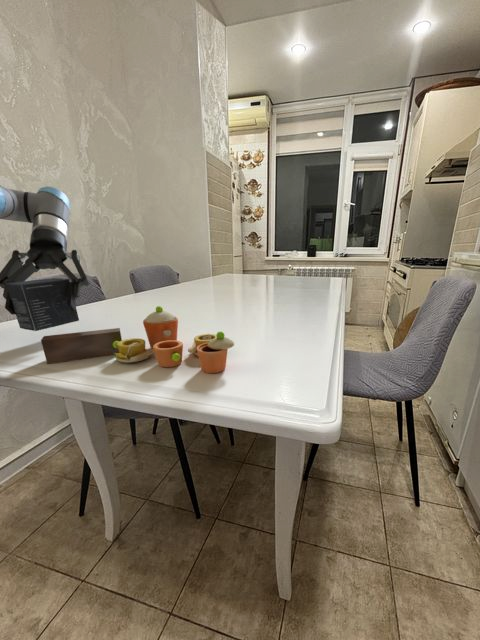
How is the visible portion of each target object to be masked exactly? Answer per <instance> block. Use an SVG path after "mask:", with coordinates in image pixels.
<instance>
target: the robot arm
mask: <svg viewBox="0 0 480 640" xmlns="http://www.w3.org/2000/svg"><path fill="white" fill-rule="evenodd" d="M70 205H71V203H70V200H69V198H68V196H67V195H66V194H65V193H64V192H63V191H61V190H60V189H58V188H57V187H53V186H43V187H40V188H38V190H37V192H30V191H22V190H18V189H14V188H13V189H12V188H7V187H5V186H2V185H0V220H4V221H12V222H22V223H29V224H32V226H31V233H30V239H29V249H28V250H27V252H20V251H19V250H17V249H15V250H13V251H12V254H11V257H10V259H9V260H8V261H7V263H6V265H4V266H3V268H2V269H1V271H0V288H1V289H3V292H2V297H3V298H4V300H5V304H4V309H5V310H6V311H7V312H8V313H9V314H11V315H16V314H15V310H14V307H13V304H12V301H11V298H10V295H9V292H8V289H7V286H6V283H14V282H23V281H27V280H28V279H29V278H30V277H31V276H32V275H33V274H35V273H38V272H39V271H41V270H48V269H51V270H56V269H57V268H58V270H60V272H61V273H63V274H64V276H66V278H67V279H69V281H70V282H69V286H68V299H67V305H68V307H69V308H70V310H71V311H75V305H76V304H77V303H76V302H77V301H76V300H77V299H78V298H80V297H81V293H82V292H81V291H82V287H83V286H86V287H87V286H90V281H89V279H88V277H87V275H86V273H85V270H84V268H83V266H82V265H81V257H80V255H79V253H78V251H77V249H72V250H71V252H67V251H68V237H69V225H70V216H71V210H70V209H71V207H70ZM68 259H69V261H71V262H72V263H73V264H74V267H75V268H76V271H77V273H78V276H79V278H78V276H76V275H75V274H74V273H73V272H72V270H70V268H68V267H67V266H66V264H65V262H66V261H67V260H68Z"/></svg>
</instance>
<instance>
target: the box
mask: <svg viewBox="0 0 480 640" xmlns="http://www.w3.org/2000/svg"><path fill="white" fill-rule="evenodd" d="M69 282H71V281H70V280H69V279H68V278H60V277H59V278H58V277H57V278H56V277H52V278H44V279H43V278H42V279H33V280H25V281H23V282H14V283H6V286H7V289H8V292H9V295H10V298H11V301H12V304H13V307H14V310H15V314H14V315H15V317H16V319H17V323H18V327H19V328H20V329H22V330H29V331H33V332H38V331H43V330H46V329H50V328H56V327H60V326H64V325H67V324H72V323H75V322H79V321H80V318H79V313H78V310H77V306H76V305H75V311H71V310H70V308H69V307H68V305H67V299H68V286H69Z"/></svg>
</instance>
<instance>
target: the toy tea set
mask: <svg viewBox="0 0 480 640" xmlns="http://www.w3.org/2000/svg"><path fill="white" fill-rule="evenodd" d="M142 323H143V327H144V331H145V333H146V337H147V341H148V344H149V346H150V348H148V349H146V340H145V339H142V338H128V339H126V338H125V339H122V341H120V342H119V341H115V342H113V347H114V348H118V349H119V352H120V353H119V354H118V353H114V355H115V360H116V361H118V362H120V363H126V364H127V363H136V362H141V361H144V360H146V359H148V358H149V357H150V356H151V355H153V354H154V356H155V358H156V361H157V364H158V366H160V367H161V368H173V367H177V366H179V365H180V364H182V361H183V351H184V343H183V341H181V340H178V330H179V329H178V327H179V318H178V317H177V316H175V315H173V314H172V313H170V312H169V311H166V310H164V308H163V306H161V305H157V306H156V307H155V311H152V312H151V313H149V314H148V315H147V316H146V317H145V318H144V319H143V320H142ZM234 346H235V342H234V340H232V339H230V338H229V337H225V333H224V332H223V331H217V333H216V334H213V333H210V332H208V333H203V334H198V335H196V336H195V337H194V338H193V343H192V345H191V347H188V348H187V352H188V353H191V354H193V355H194V356H197V357H198V362H199V364H200V365H199V366H200V369H201V370H202V371H203V372H204V373H207V374H217V373H221V372H223V371H224V370H225V369H226V366H227V360H228V350H229V349H231V348H233V347H234Z"/></svg>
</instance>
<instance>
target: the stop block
mask: <svg viewBox="0 0 480 640" xmlns="http://www.w3.org/2000/svg"><path fill="white" fill-rule="evenodd" d="M122 340H123V337H122V332H121V328H120V327H115V328H114V327H113V328H107V329H97V330H88V331H79V332H69V333H60V334H59V333H58V334H50V335H43V337H42V338H41V340H40V342H41V346H42V350H43V353H44V358H45V361H46V364H47V365H49V364H50V365H51V364H56V363H64V362H70V361H76V360H77V361H78V360H85V359H92V358H99V357H106V356H112V355H115V354H114V353H118V354H119V353H120V352H119V349H118V348H114V347H113V342H115V341H119V342H120V341H122Z"/></svg>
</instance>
